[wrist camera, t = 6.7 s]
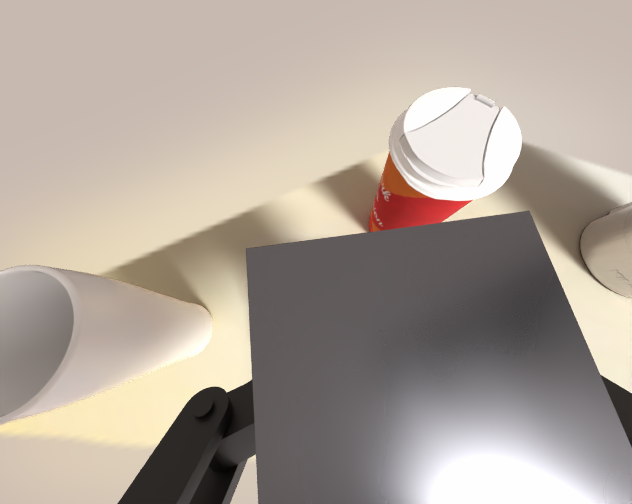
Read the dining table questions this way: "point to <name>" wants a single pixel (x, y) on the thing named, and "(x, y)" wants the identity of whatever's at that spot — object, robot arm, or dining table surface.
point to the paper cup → (444, 158)
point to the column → (427, 372)
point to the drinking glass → (85, 336)
